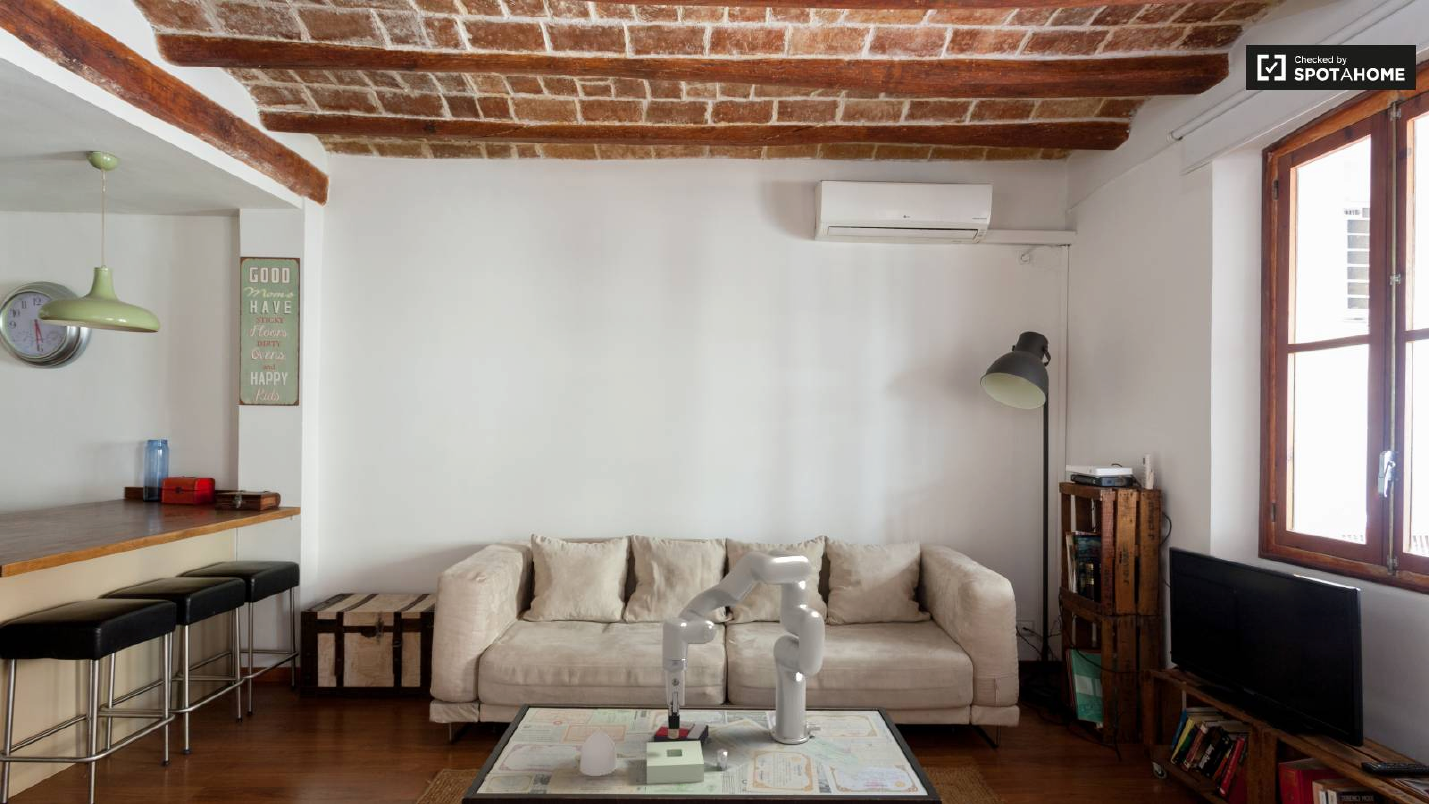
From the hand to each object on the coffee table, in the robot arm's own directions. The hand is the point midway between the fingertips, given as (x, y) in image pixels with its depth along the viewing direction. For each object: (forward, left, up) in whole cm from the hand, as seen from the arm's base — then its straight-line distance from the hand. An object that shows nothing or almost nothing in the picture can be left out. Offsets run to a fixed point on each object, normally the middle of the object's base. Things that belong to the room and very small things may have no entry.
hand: (673, 725), depth 212 cm
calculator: (-3, -19, -14) cm, 24 cm away
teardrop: (+22, -4, -13) cm, 26 cm away
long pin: (0, 0, -3) cm, 3 cm away
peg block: (0, 0, -13) cm, 13 cm away
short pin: (-14, 0, -13) cm, 19 cm away
